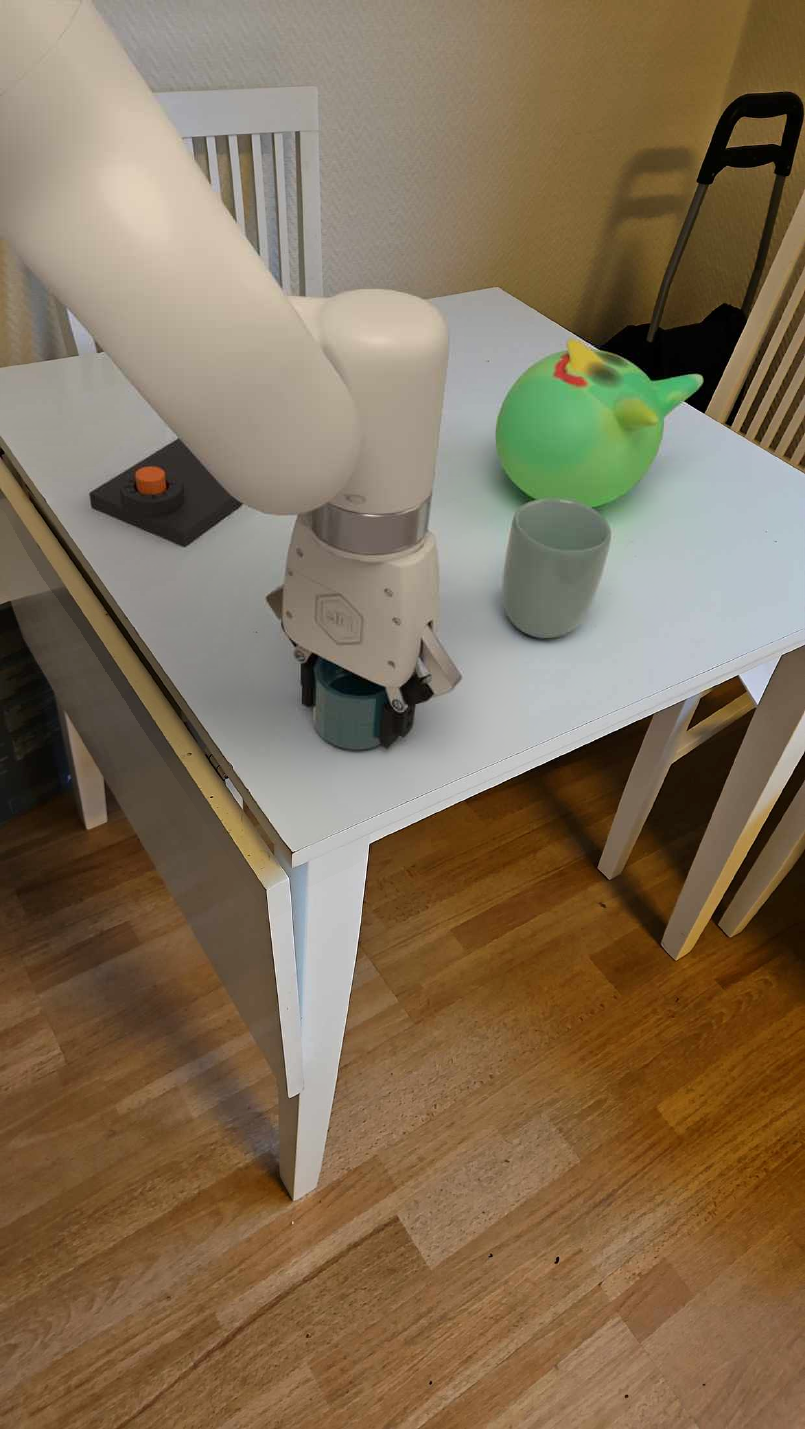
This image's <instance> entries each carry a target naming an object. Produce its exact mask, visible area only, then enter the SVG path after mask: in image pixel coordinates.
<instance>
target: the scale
mask: <svg viewBox="0 0 805 1429" xmlns="http://www.w3.org/2000/svg"><path fill="white" fill-rule="evenodd" d="M143 467H158V468H160V469H162V470H163V471H164V473H165V480H166V490H165V491H164V492H162V493H159V494H154V495H149V494H142V493H139V492H138V490H137V484H136V476H135V474H136V472H137V471H138V470H139V469H141V468H143ZM88 496H89V500H90V507H91V508H92V509H94V510H96V511H99V512H101V513H104V514H106V515H108V516H111V517H113V518H115V519H117V520H120V521H123V522H125V523H127V524H130V525H132V526H134V527H137V528H139V529H141V530H144V531H145V532H148V533H151V534H153V535H156V536H158V537H160V538H162V539H165V540H167V541H170V542H172V543H175V544H176V545H178V546H182V547H184V548H185V547H188V545H190V544H191V543H192V542H193V541H195V540H196V539H198V538H199V537H201V536H202V535H203V534H205V533H206V532H208V531H209V530H210V529H212V528H213V527H214V526H216V525H217V524H218V523H220V522H221V521H222V520H224V519H225V518H227V517H228V516H229V515H231V514H232V513H233V512H235V511H236V510H238V509H239V508H240V507H242V506H243V505H244V504H243V503H241V502H239V501H238V500H237V499H235V498H234V497H233V496H231V495H230V494H229V493H228V492H227V491H226V490H225V489H224V488H223V487H222V486H221V485H220V483H219V482H218V481H217V480H216V479H215V478H214V477H213V476H212V475H211V474H210V472H209V471H208V470H207V469H206V468H205V467H204V466H203V465H202V463H201V462H200V461H199V460H198V459H197V458H196V457H195V456H194V454H193V453H192V452H191V451H190V450H189V449H188V448H187V447H186V446H185V444H184V443H183V442H182V441H181V440H180V439H179V438H178V437H177V438H176V439H174V440H173V441H171V442H170V443H168V444H167V445H165V446H163V447H162V448H160V449H158V450H157V451H155V452H154V453H152V454H151V455H149V456H147V457H145V458H144V459H142V460H140V461H139V462H137V463H135V464H134V465H132V466H130V467H129V468H127V469H126V470H124V471H123V472H121V473H119V474H118V475H116V476H114V477H113V478H111V479H109V480H108V481H106V482H104V483H103V484H102V485H100V486H98V487H97V488H95V489H93V490H92V491H90V492H89V493H88Z"/></svg>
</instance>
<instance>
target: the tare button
mask: <svg viewBox="0 0 805 1429" xmlns="http://www.w3.org/2000/svg"><path fill="white" fill-rule="evenodd" d="M135 476H136V484H137V490H138V492H139V493H142V494H149V495H154V494H159V493H162V492H164V491H165V490H166V480H165V473H164V471H163V470H162V469H160V468H158V467H143V468H141V469H139V470H138V471H137V472H136V474H135Z"/></svg>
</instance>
